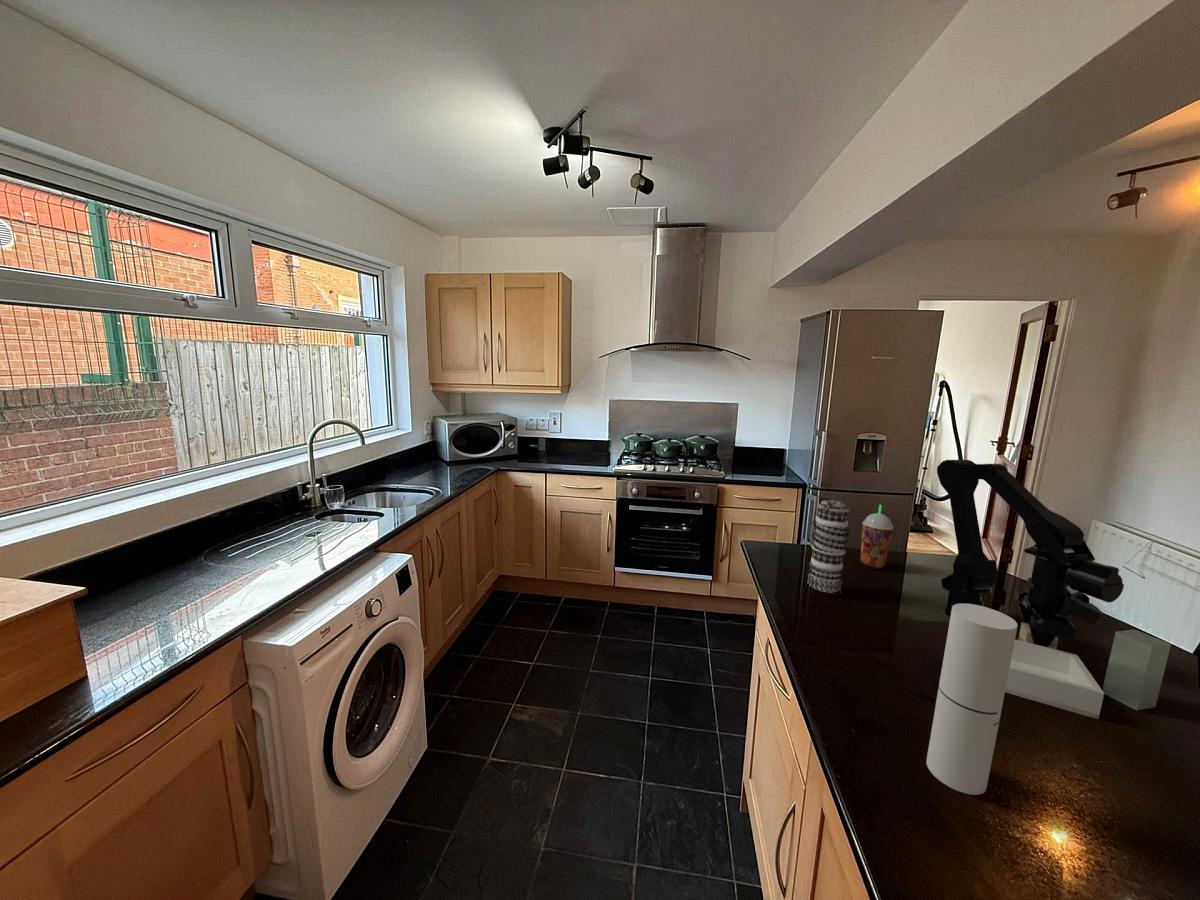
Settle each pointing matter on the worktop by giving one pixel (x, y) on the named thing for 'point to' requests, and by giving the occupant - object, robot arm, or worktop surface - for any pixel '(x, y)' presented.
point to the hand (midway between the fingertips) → (1035, 647)
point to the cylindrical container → (970, 696)
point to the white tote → (1053, 679)
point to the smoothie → (876, 539)
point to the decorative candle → (828, 546)
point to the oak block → (1026, 637)
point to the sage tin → (1136, 669)
